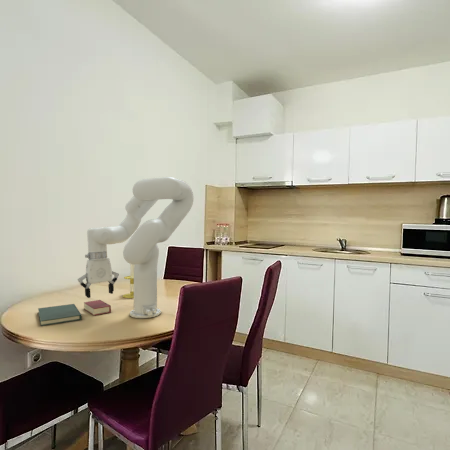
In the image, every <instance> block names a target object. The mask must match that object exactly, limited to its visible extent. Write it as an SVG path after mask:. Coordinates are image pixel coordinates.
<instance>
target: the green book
mask: <svg viewBox="0 0 450 450" xmlns="http://www.w3.org/2000/svg"><path fill="white" fill-rule="evenodd" d="M37 310H38V312H37V314H38V318H39V323H40V327H43V326H44V327H45V326H50V325H57V324H63V323H70V322H77V321H82V313H81V312H80V310H79V309H78V307H77V306H76V304H75V303H70V304H62V305H61V304H60V305H54V306H53V305H52V306H45V307H38V308H37Z"/></svg>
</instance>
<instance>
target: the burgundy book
mask: <svg viewBox="0 0 450 450" xmlns="http://www.w3.org/2000/svg"><path fill="white" fill-rule="evenodd" d="M111 309H112V305H110V304H109V303H107V302H105V301H103V300H101V299H96V300H90V301H84V302H83V310H85V311H86V312H88V313H90V315H92V316H94V317H95V316H99V315H105V314H111V313H112V310H111Z"/></svg>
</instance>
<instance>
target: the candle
mask: <svg viewBox="0 0 450 450" xmlns="http://www.w3.org/2000/svg"><path fill="white" fill-rule="evenodd" d="M129 265H130V267H129V269H130V271H129V272H130V273H129V274H130V275H125V276H124V277H123V278H124V279H125V280H129V293H125V294H123V295H122V298H125V299H134V267H135V265H134V264H130V263H129Z"/></svg>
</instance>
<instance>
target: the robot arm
mask: <svg viewBox="0 0 450 450" xmlns="http://www.w3.org/2000/svg"><path fill="white" fill-rule="evenodd" d="M132 186H133V187H132V195H133V196H132V197H131V198H130V199H129V201H128V202H127V203H126V204H125V208H124V209H125V211H126V216H125V218H124V219H123V220H122V222H120V223H119V225H115V226H105V227H91V228H88V229H87V232H86V235H87V253H86V254H85V255H84V258H85V259H87V260H86V265H85V274H83V275H81V276H80V277H79V278H77V282H78V284H79V285H80V286H81V287H82V288H84V295H85V297H86V298H87V299H91V288H90V287H91V285H93V284H101V283H108V294H111V295H112V294H114V290H115V288H114V286H115V283H116V282H117V280H118V278H119V275H120V274H119V272H116V271H114V270H113V269H112V264H111V260H110V258H109V257H108V247H107V245H114V244H122V243H125V242H126V241H127V242H126V244H125V245H124V246H123V247H124V248H123V251H122V255H123V258H124V260H125V262H126V263H128V264H129V265H130V264H134V265H135V267H134V298H133V309H132V310H130V312H129V316H130V317H132V318H134V319H149V318H154V317H158V316H159V315H161V314H162V310H161V309H160V308H158V262H159V256H160V255H159V254H160V249H159V246H158V244H159V243H164V242H166V241H167V240H169V239H170V237H171V236H172V234H173V233H174V232H175V231H176V229H177V228H178V227H179V226H180V224H182V221H183V220H184V219H185V218H186V216H188V214H189V213H190V211H191V210H192V207H193V205H194V193H193V190H192V188H191V185H190V184H189V183H187V182H186V181H184V180H183V179H180V178H176V177H173V176H162V177H151V178H141V179H138V180H137V181H136V182H135V183H134V184H133V185H132ZM159 200H171V202H170V203H169V204H168V205H167V206H166V207H165V208H164V209H163V211H162V212H161V214H159V216H158V217H157V218H155V219H154V218H153V219H148V220H146V221H144V222H142V223H141V221H142V219H143V217H144V216H145V215H146V214H147V213H148V211H149V210H151V208H152V207H154V205H155V204H156V203H157V202H158V201H159ZM140 224H141V225H140ZM84 280H85V281H86V282H85V283H84Z"/></svg>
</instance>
